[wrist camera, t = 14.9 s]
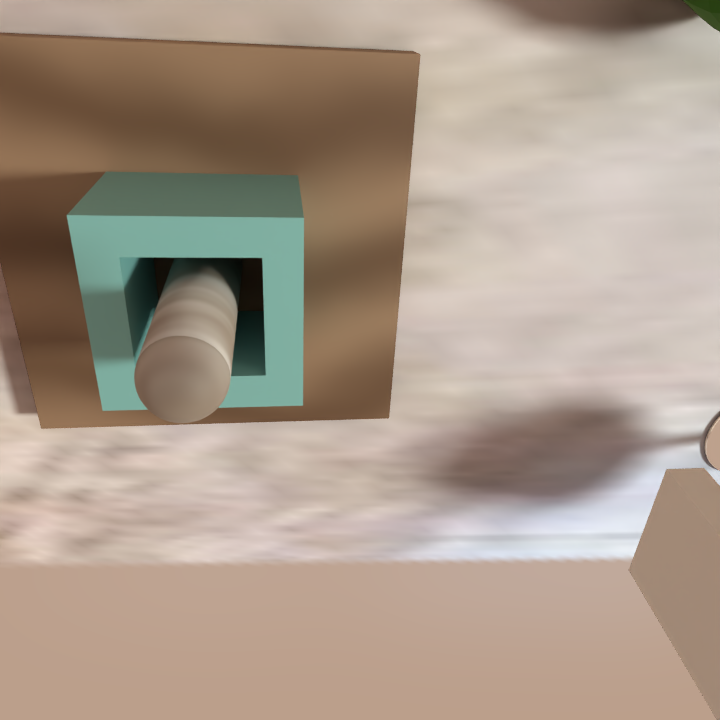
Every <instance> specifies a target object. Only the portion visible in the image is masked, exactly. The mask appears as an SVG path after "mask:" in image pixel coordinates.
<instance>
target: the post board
mask: <svg viewBox="0 0 720 720" xmlns="http://www.w3.org/2000/svg"><path fill="white" fill-rule="evenodd" d="M419 64H420V54H418V53H416V52H414V51H396V50H373V49H351V48H328V47H306V46H284V45H261V44H239V43H217V42H194V41H172V40H149V39H127V38H105V37H82V36H60V35H37V34H15V33H0V263H1V267H2V271H3V275H4V279H5V283H6V287H7V291H8V295H9V299H10V303H11V308H12V312H13V316H14V320H15V324H16V328H17V332H18V336H19V340H20V344H21V348H22V352H23V356H24V360H25V364H26V368H27V372H28V376H29V380H30V385H31V389H32V393H33V397H34V401H35V405H36V409H37V413H38V417H39V421H40V425H41V429H45V428H78V427H112V426H145V425H179V424H212V423H246V422H279V421H313V420H346V419H380V418H389V412H390V400H391V389H392V377H393V365H394V354H395V342H396V331H397V319H398V307H399V296H400V284H401V273H402V261H403V250H404V238H405V226H406V215H407V203H408V192H409V180H410V168H411V157H412V145H413V134H414V122H415V111H416V99H417V87H418V76H419ZM105 172H152V173H203V174H254V175H298V179H299V186H300V193H301V200H302V207H303V214H304V318H303V406H267V407H229V408H218V407H219V406H220V405H221V404H222V402H223V401H224V399H225V397H226V395H227V393H228V390H229V386H230V380H231V370H232V361H233V351H234V342H235V332H236V323H237V313H238V311H264V298H263V263H262V258H167V257H153V258H154V267H155V275H156V284H157V292H158V300H159V302H158V305H157V307H156V310H155V313H154V316H153V318H152V321H151V324H150V327H149V329H148V332H147V335H146V338H145V341H144V343H143V346H142V349H141V352H140V354H139V357H138V360H137V363H136V367H135V372H134V382H135V388H136V391H137V394H138V396H139V398H140V400H141V402H142V403H143V404H144V406H145V407H146V408H147V409H148V410H115V411H103V410H102V405H101V399H100V394H99V388H98V383H97V377H96V372H95V367H94V361H93V356H92V350H91V345H90V339H89V334H88V328H87V323H86V318H85V312H84V307H83V301H82V296H81V290H80V285H79V280H78V274H77V269H76V263H75V258H74V252H73V247H72V241H71V236H70V231H69V225H68V220H67V214H68V213H69V212H70V211H71V210H72V209H73V208H74V207H75V205H76V204H77V203H78V202H79V201H80V200H81V199H82V198H83V197H84V196H85V194H86V193H87V192H88V191H89V190H90V189H91V188H92V187H93V186H94V185H95V183H96V182H97V181H98V180H99V179H100V178H101V177H102V176H103V175H104V173H105Z"/></svg>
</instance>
